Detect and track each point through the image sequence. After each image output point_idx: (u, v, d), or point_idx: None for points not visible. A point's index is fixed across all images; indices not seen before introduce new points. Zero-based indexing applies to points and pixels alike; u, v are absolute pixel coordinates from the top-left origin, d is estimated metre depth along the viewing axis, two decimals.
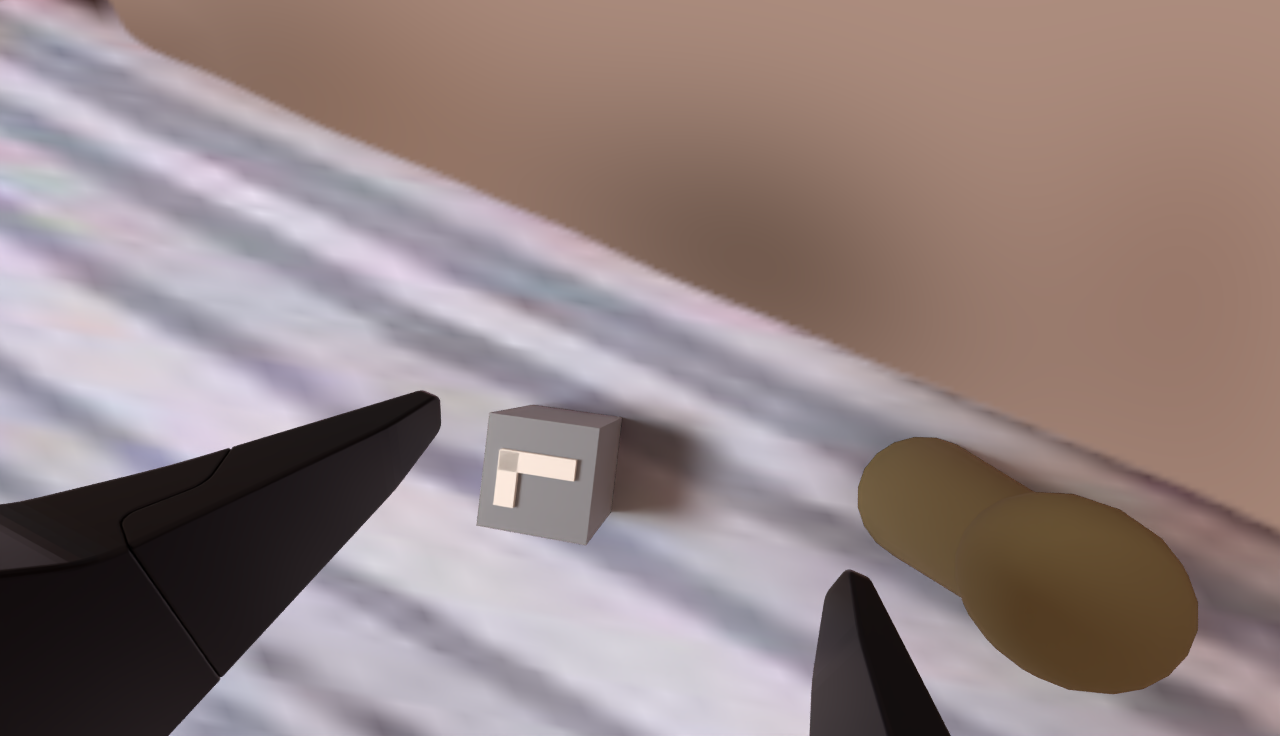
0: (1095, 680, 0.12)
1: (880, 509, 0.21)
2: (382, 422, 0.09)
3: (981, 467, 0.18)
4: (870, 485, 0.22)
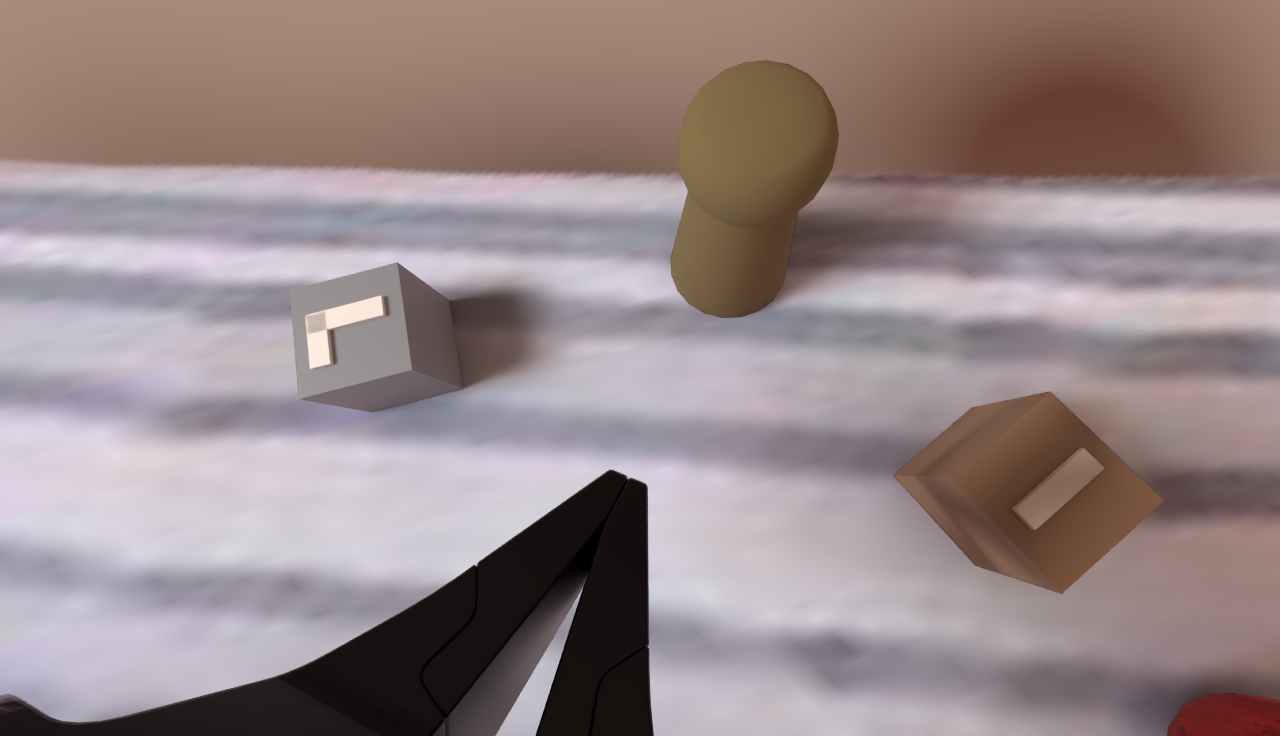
0: (777, 164, 0.14)
1: (679, 260, 0.23)
2: (596, 516, 0.08)
3: None
4: (673, 259, 0.24)
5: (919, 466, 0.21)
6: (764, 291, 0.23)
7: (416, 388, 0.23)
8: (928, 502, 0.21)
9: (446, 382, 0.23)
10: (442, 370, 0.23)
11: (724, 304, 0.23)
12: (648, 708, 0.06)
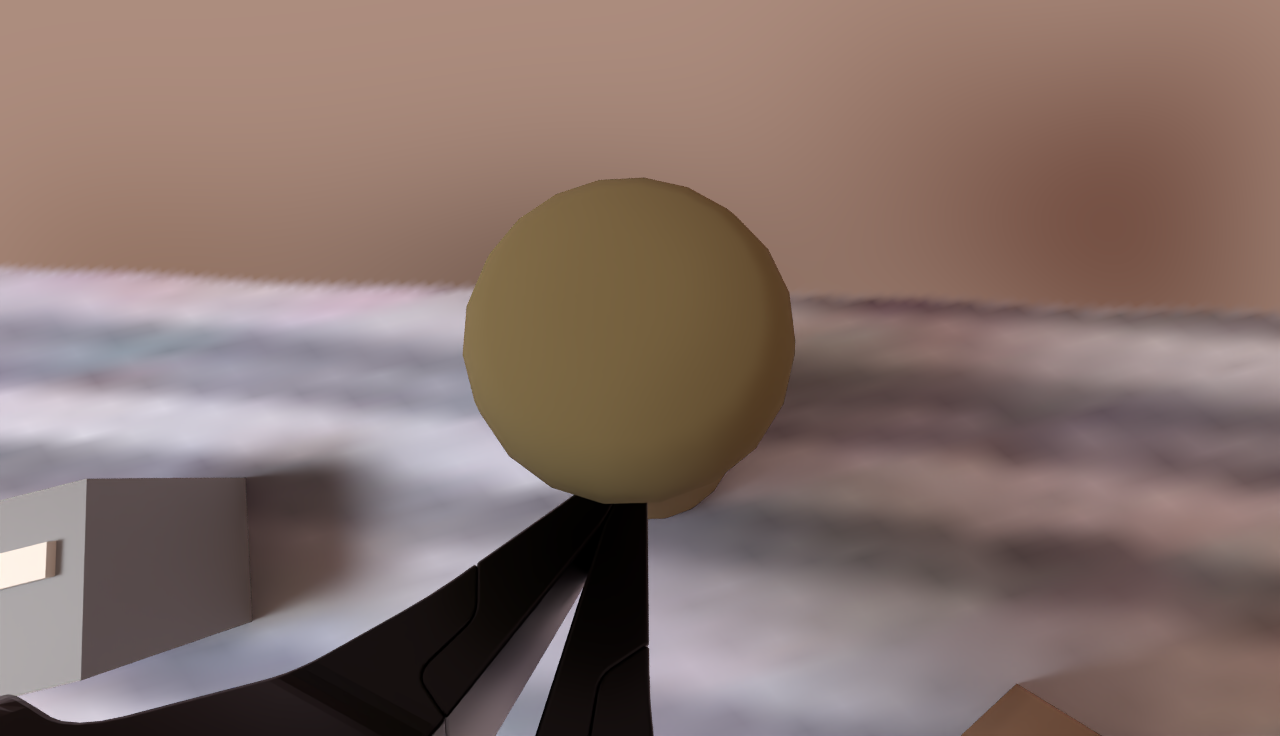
0: (648, 430, 0.06)
1: None
2: (596, 516, 0.08)
3: None
4: None
5: None
6: (694, 497, 0.14)
7: None
8: None
9: (201, 638, 0.15)
10: (192, 622, 0.15)
11: None
12: (648, 708, 0.06)
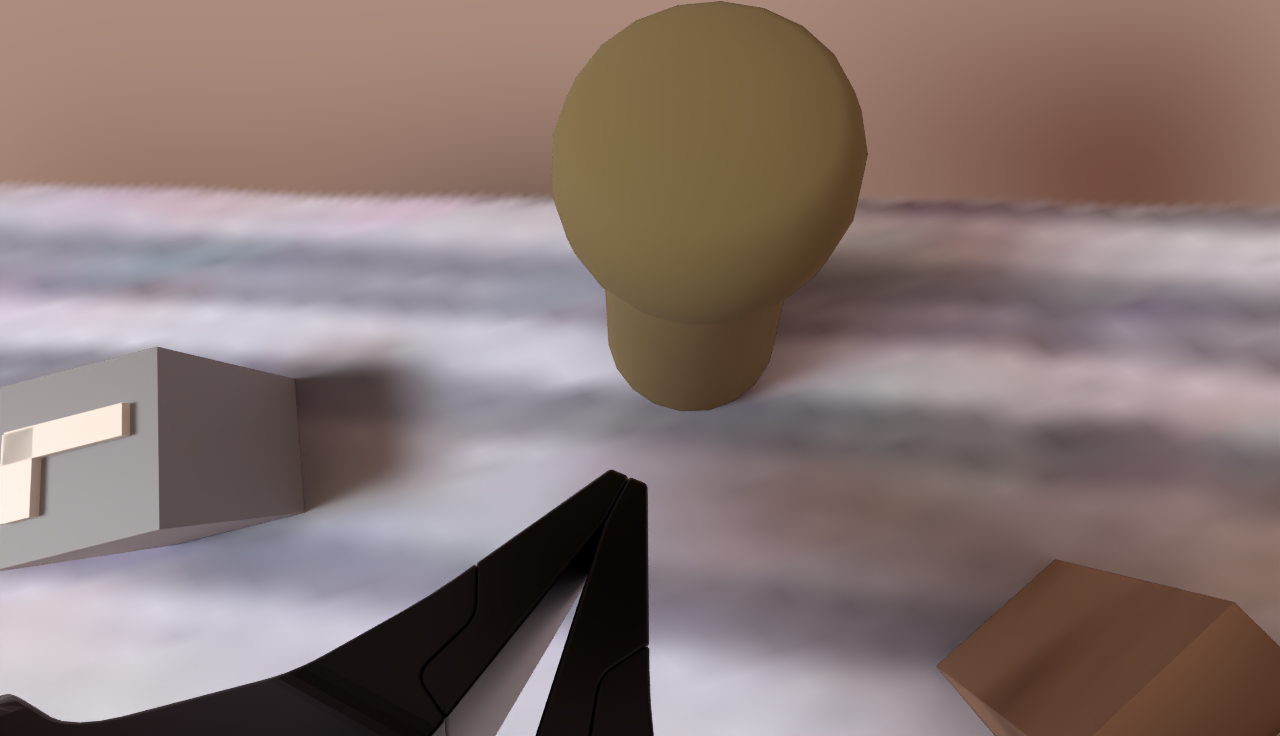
0: (737, 219, 0.06)
1: (611, 334, 0.15)
2: (596, 516, 0.08)
3: None
4: None
5: (983, 673, 0.13)
6: (739, 382, 0.15)
7: (211, 528, 0.15)
8: (996, 729, 0.13)
9: (261, 517, 0.15)
10: (253, 500, 0.15)
11: (680, 399, 0.15)
12: (648, 708, 0.06)
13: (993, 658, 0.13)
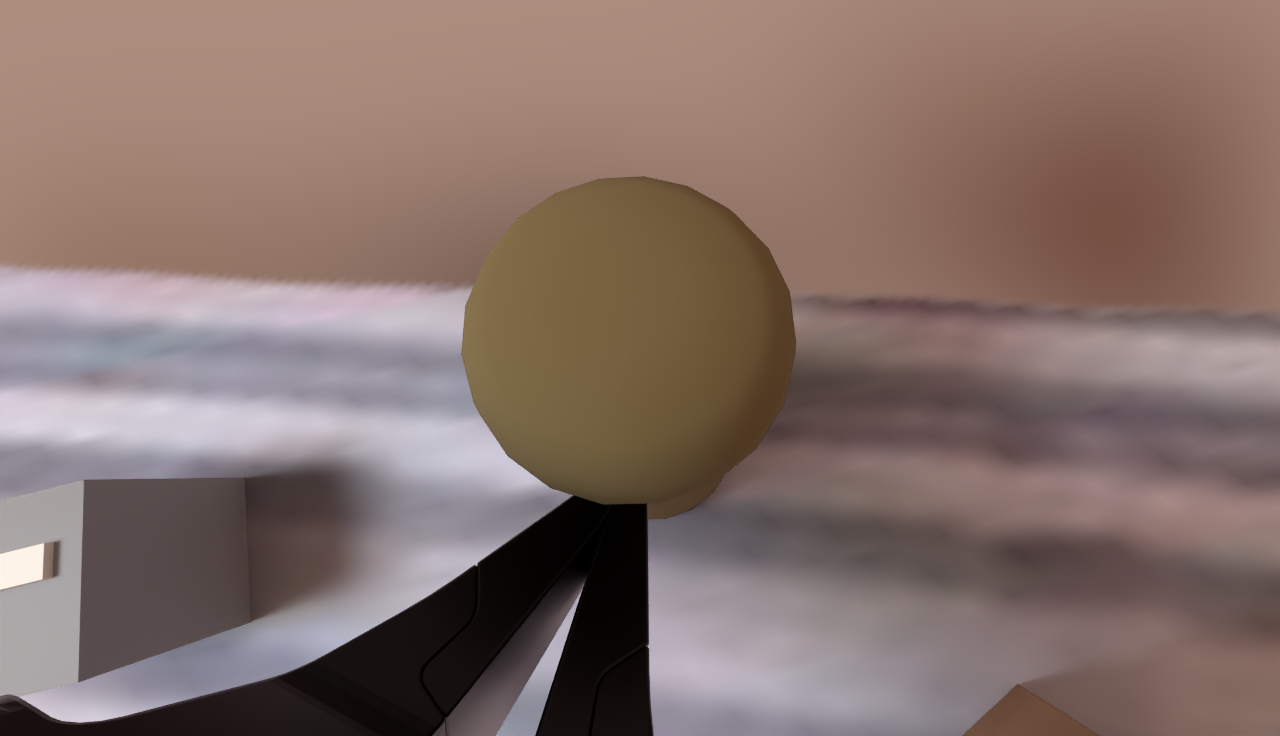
0: (648, 431, 0.06)
1: None
2: (596, 516, 0.08)
3: None
4: None
5: None
6: (694, 498, 0.14)
7: None
8: None
9: (199, 639, 0.15)
10: (190, 622, 0.15)
11: None
12: (648, 708, 0.06)
13: None
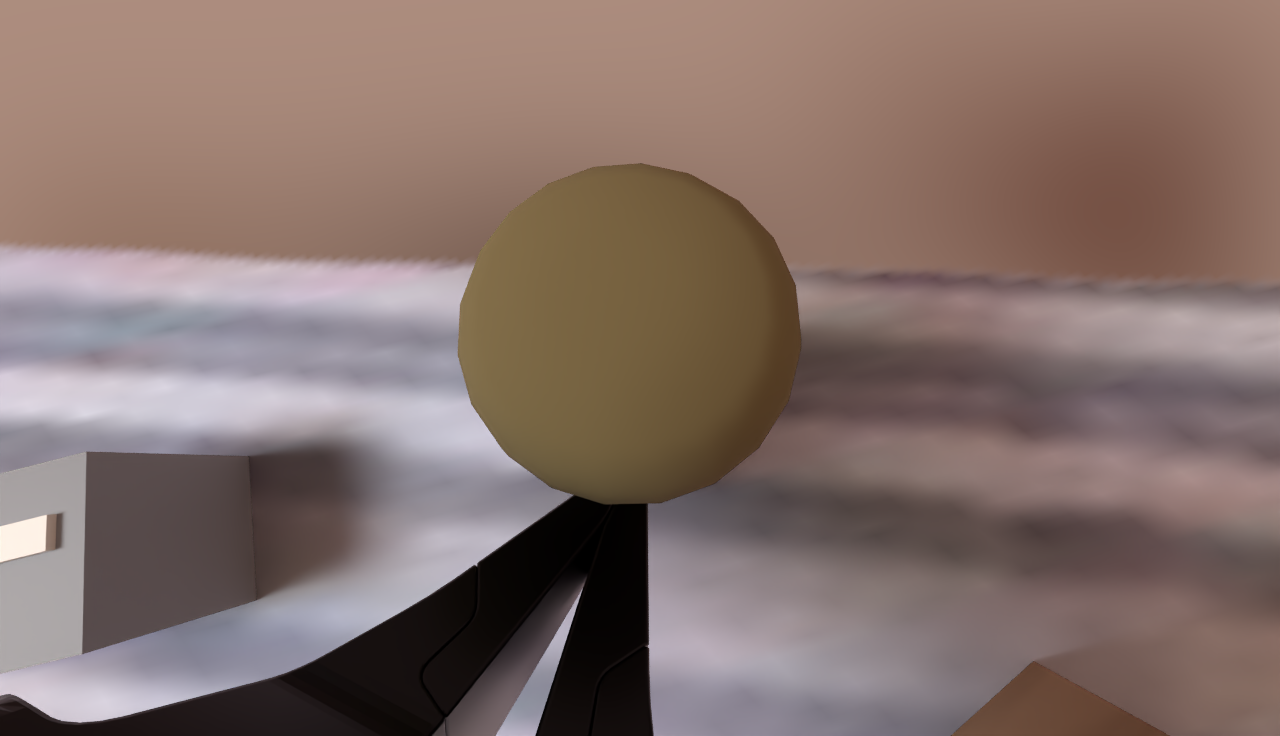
0: (644, 437, 0.06)
1: None
2: (596, 516, 0.08)
3: None
4: None
5: None
6: None
7: None
8: None
9: (204, 615, 0.15)
10: (195, 599, 0.15)
11: None
12: (648, 708, 0.06)
13: None
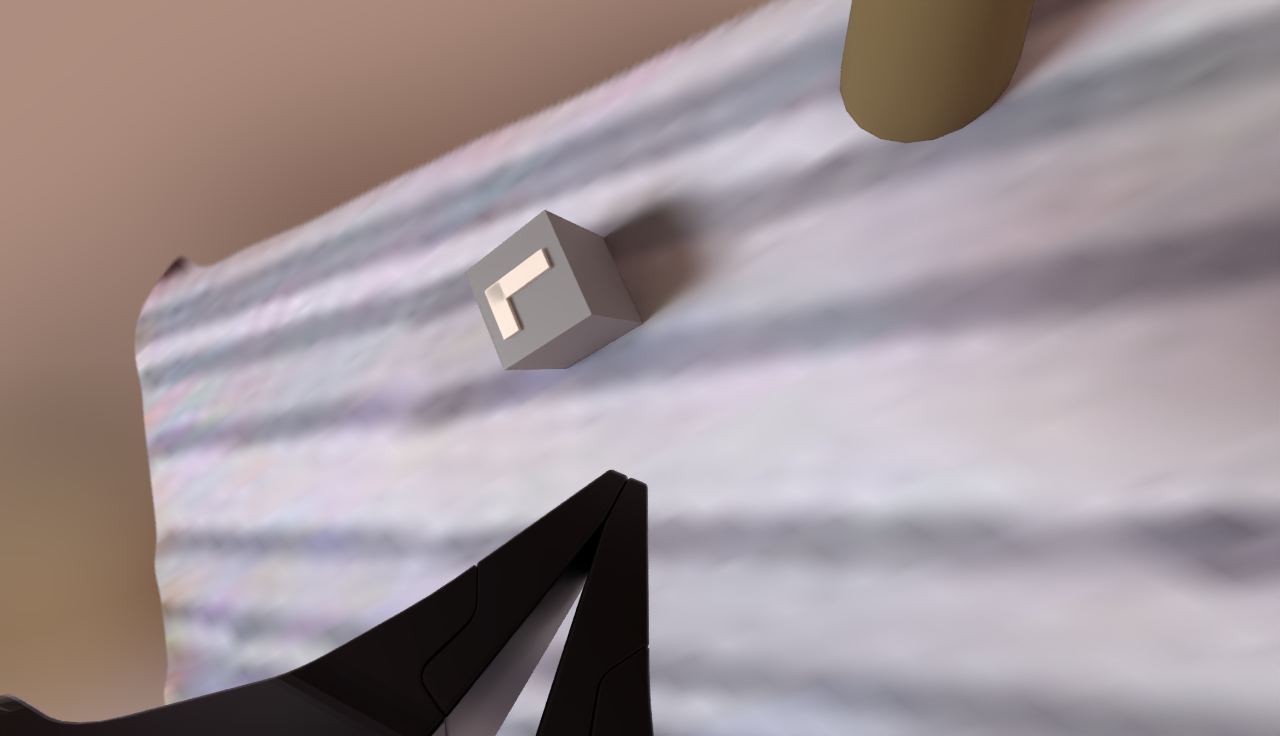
0: None
1: (858, 82, 0.17)
2: (596, 516, 0.08)
3: None
4: (846, 87, 0.19)
5: None
6: (998, 73, 0.16)
7: (600, 334, 0.22)
8: None
9: (626, 320, 0.22)
10: (618, 309, 0.22)
11: (937, 116, 0.17)
12: (648, 708, 0.06)
13: None
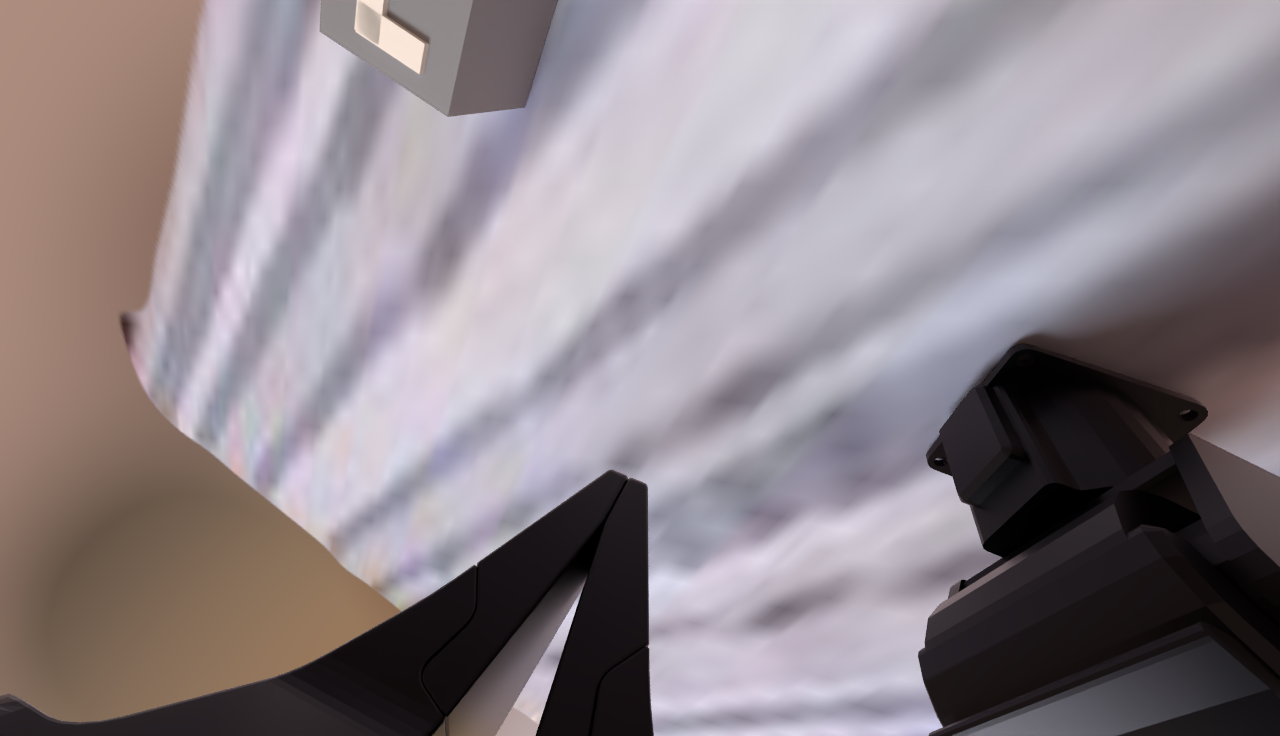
0: None
1: None
2: (596, 516, 0.08)
3: None
4: None
5: None
6: None
7: (525, 1, 0.16)
8: None
9: None
10: None
11: None
12: (648, 708, 0.06)
13: None
